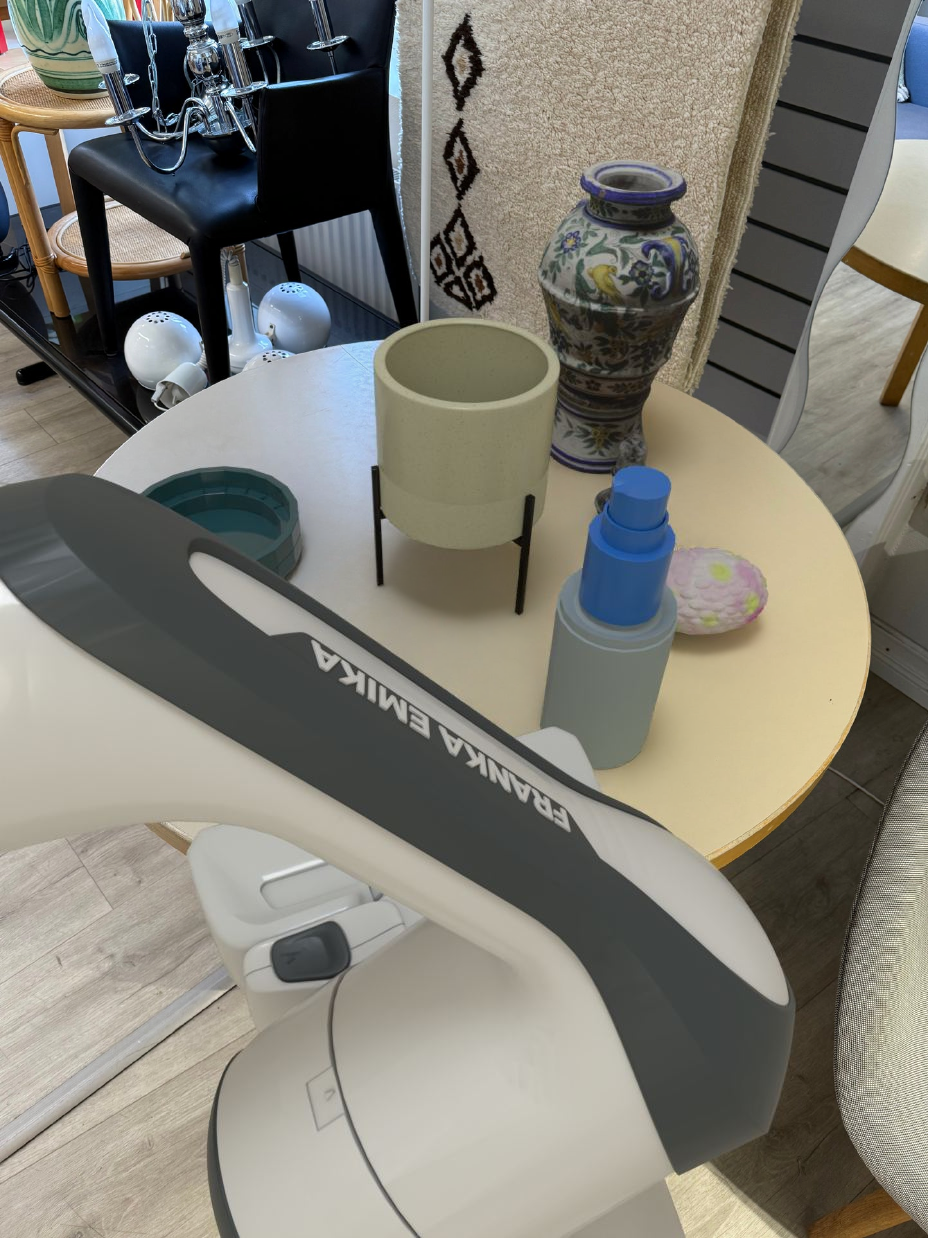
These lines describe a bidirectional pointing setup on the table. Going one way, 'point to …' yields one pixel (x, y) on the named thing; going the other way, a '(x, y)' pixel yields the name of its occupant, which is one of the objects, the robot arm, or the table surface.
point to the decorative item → (715, 590)
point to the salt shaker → (624, 465)
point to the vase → (614, 304)
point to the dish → (238, 511)
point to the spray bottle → (615, 624)
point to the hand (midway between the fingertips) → (362, 726)
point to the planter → (463, 435)
